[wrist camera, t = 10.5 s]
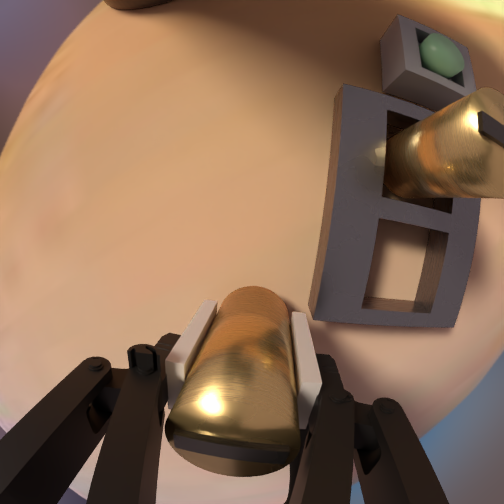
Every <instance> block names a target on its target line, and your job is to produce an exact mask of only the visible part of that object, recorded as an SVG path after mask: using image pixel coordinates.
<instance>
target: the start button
mask: <svg viewBox="0 0 504 504" xmlns="http://www.w3.org/2000/svg"><path fill="white" fill-rule="evenodd" d="M419 52H420V59H421V66H422V68H425V69H427V70H429V71H432V72H434V73H436V74H438V75H440V76H442V77H444V78H447V79H450V78H451V77H453V76H454V75H456V74H458V73H459V72H461V71H462V70H463V69H464V59H463V56H462V54H461V52H460V51H459V49H458V48H457V47H456V45H455V44H454V43H453V42H452V41H450V40H449V39H448V38H446V37H445V36H443V35H441V34H438V33H431V34H430V35H429V36H428V37H427V38H426V39H425V40H424V41H423V42H422V43H421V44H420V45H419Z"/></svg>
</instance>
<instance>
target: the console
mask: <svg viewBox="0 0 504 504" xmlns="http://www.w3.org/2000/svg"><path fill="white" fill-rule="evenodd" d="M431 33H438V34H441V33H439V32H437V31H435V30H433V29H431V28H429V27H427V26H425V25H423V24H420V23H418V22H416V21H413V20H411V19H409V18H406V17H404V16H401V15H397V16H396V18H395V19H394V21H393V22H392V23H391V25H390V26H389V28H388V29H387V31H386V32H385V34H384V35H383V37H382V38H381V40H380V49H381V64H382V92H385V93H388V94H391V95H394V96H397V97H400V98H403V99H406V100H409V101H412V102H414V103H417V104H420V105H422V106H425V107H427V108H430V109H432V110H435V111H439V110H441V109H443V108H445V107H446V106H448V105H450V104H452V103H454V102H456V101H458V100H459V99H461V98H463V97H465V96H467V95H469V94H471V93H473V92H475V91H476V85H475V79H474V74H473V69H472V64H471V60H470V56H469V52H468V48H467V47H465V46H463V45H462V44H460V43H458V42H456V41H455V40H453V39H451V38H449V37H447V36H445V35H443V34H441V35H443V36H445V37H446V38H448V39H449V40H450V41H452V42H453V43H454V44H455V45H456V47H457V48H458V49H459V51H460V52H461V54H462V56H463V59H464V69H463V70H462V71H461V72H459V73H458V74H456V75H454V76H453V77H451V78H450V79H447V78H444V77H442V76H440V75H438V74H436V73H434V72H432V71H429V70H427V69H425V68H422V66H421V59H420V52H419V45H420V44H421V43H422V42H423V41H424V40H425V39H426V38H427V37H428V36H429V35H430V34H431Z"/></svg>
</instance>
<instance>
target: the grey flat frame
mask: <svg viewBox="0 0 504 504" xmlns="http://www.w3.org/2000/svg"><path fill="white" fill-rule="evenodd" d="M434 113H435V112H432V111H430V110H427V109H425V108H422V107H420V106H417V105H414V104H412V103H409V102H406V101H403V100H400V99H397V98H394V97H391V96H388V95H385V94H381V93H378V92H374V91H371V90H367V89H363V88H360V87H356V86H351V85H347V84H343V85H342V86H341V88H340V90H339V91H338V93H337V95H336V96H335V98H334V114H333V128H332V140H331V151H330V161H329V171H328V180H327V188H326V197H325V204H324V212H323V219H322V226H321V233H320V239H319V246H318V252H317V258H316V264H315V270H314V276H313V281H312V287H311V292H310V297H309V302H308V306H309V309H310V312H311V315H312V318H313V320H320V321H330V322H342V323H354V324H368V325H385V326H407V327H454V325H455V322H456V319H457V316H458V313H459V310H460V306H461V303H462V300H463V296H464V292H465V289H466V285H467V281H468V277H469V273H470V268H471V263H472V259H473V253H474V248H475V242H476V236H477V229H478V221H479V213H480V202H481V198H434V201H433V209H430V208H427V207H423V206H419V205H415V204H411V203H406V202H402V201H398V200H394V199H389V198H385V197H382V189H383V179H384V167H385V153H386V132H387V124H388V125H392V126H395V127H398V128H401V129H407V128H409V127H410V126H412V125H414V124H416V123H417V122H419V121H421V120H423V119H425V118H426V117H428V116H430V115H432V114H434ZM379 218H381V219H386V220H391V221H396V222H401V223H405V224H410V225H415V226H419V227H424V228H428V229H430V232H429V238H428V244H427V249H426V254H425V259H424V264H423V269H422V273H421V278H420V282H419V286H418V290H417V294H416V297H415V301H407V300H395V299H385V298H374V297H364V294H365V290H366V285H367V281H368V276H369V271H370V267H371V261H372V256H373V251H374V245H375V239H376V233H377V227H378V220H379Z"/></svg>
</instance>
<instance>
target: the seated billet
mask: <svg viewBox="0 0 504 504" xmlns="http://www.w3.org/2000/svg"><path fill="white" fill-rule="evenodd" d="M383 182H384V184H385V185H386V187H387V188H388V189H389V190H390V191H391V192H393V193H394V194H396V195H397V196H400V197H403V198H501V199H504V95H503V94H502V93H500V92H499V91H497V90H495V89H493V88H489V87H484V88H481V89H478V90H476V91H475V92H473V93H471V94H469V95H467V96H465V97H463V98H461V99H459V100H458V101H456V102H454V103H452V104H450V105H448V106H446V107H445V108H443V109H441V110H439V111H437V112H435V113H434V114H432V115H430V116H428V117H426V118H425V119H423V120H421V121H419V122H417V123H416V124H414V125H412V126H410V127H409V128H407V129H405V130H403V131H401V132H400V133H398V134H396V135H394V136H393V137H391V138H389V139H388V140H386V153H385V167H384V179H383Z"/></svg>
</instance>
